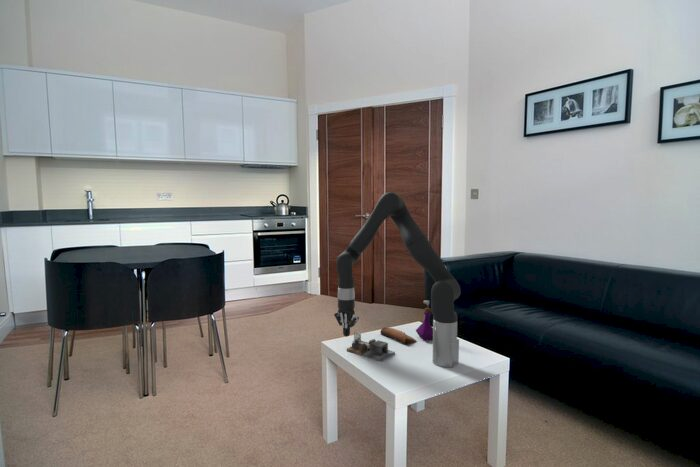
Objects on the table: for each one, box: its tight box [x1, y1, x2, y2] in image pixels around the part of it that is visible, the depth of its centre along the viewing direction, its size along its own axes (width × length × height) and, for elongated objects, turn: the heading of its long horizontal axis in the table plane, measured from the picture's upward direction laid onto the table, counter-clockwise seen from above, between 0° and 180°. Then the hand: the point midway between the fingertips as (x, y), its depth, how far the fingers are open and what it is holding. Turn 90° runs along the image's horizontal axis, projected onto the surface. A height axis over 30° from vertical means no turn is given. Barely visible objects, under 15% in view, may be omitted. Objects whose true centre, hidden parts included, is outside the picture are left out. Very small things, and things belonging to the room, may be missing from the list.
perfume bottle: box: [415, 300, 433, 341], centre depth 182 cm, size 8×8×18 cm
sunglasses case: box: [380, 327, 418, 346], centre depth 184 cm, size 18×7×7 cm, turn 34°
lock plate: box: [346, 338, 396, 362], centre depth 166 cm, size 18×10×5 cm, turn 51°
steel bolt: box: [351, 331, 370, 350], centre depth 169 cm, size 8×3×6 cm, turn 51°
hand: (346, 335), depth 174 cm, fingers closed
